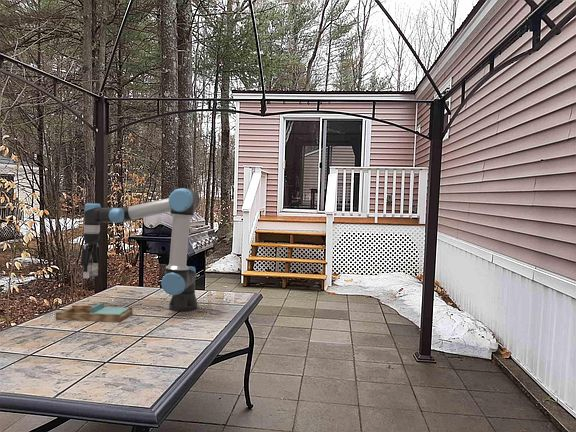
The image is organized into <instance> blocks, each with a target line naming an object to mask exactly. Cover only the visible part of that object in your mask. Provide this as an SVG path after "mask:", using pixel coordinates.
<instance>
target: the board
mask: <svg viewBox="0 0 576 432" xmlns="http://www.w3.org/2000/svg"><path fill="white" fill-rule="evenodd" d="M93 306H94V305H78V304H77V305H76V304H75V305H71V307H69V308H67V309H65V310H63V311H60V312H58V311H57V312H55V320H58V321H59V320H60V321H76V322H77V321H79V322H106V323H107V322H108V323H121V322H123V321H124V320H125V319H127V318H128V317H130V316H132V315H133V307H129V308H130V310H128V311H126V312H125V313H123V314H121V315H110V314H90V311H91V307H93ZM116 307H117V308H127V307H125V306H123V307H121V306H116Z"/></svg>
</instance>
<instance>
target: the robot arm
mask: <svg viewBox="0 0 576 432" xmlns="http://www.w3.org/2000/svg"><path fill="white" fill-rule="evenodd" d="M200 200H201V199H200V196H199V194H198V193H197V192H196V191H194V190H193V189H189V188H186V187H185V188H184V187H183V188H182V187H180V188H175V189H174V190H172V192H171V193H170V195H169V196H168V198H164V199H163V198H162V199H158V200H154V201H149V202H143V203H139V204H134V205H129V206H126V207H101V204H100V203H90V202H89V203H85V204H84V210H83V215H84V216H83V219H84V220H83V221H84V222H83V232H84V234H83V241H84V242H85V244H82V248H81V249H82V251H81V258H80V261H81V262H80V265H81V266H83V267H82V273H83V275H82V278H83V279H90V276H89V266H90V265H89V263H90V261H91V258H92V263H96V262H97V263H96V264H97V266H98V267H99V264H100V263H101V243H99V241H100V237H101V235H100V232H101V223H114V224H117V223H119V224H120V223H126V222H129V221H134V220H137V219H142V218H147V217H153V216H156V215H162V214H166V213H170V216H172V228H171V237H170V239H171V241H170V249H169V250H170V251H169V259H168V260H169V261H168V265H166V266H165V271H164V275H163V277H162V279H161V283H160V284H161V289H162V290H163V291H164V292H165V293H166V294H168V295H169V296H171V299H170V301H169V304H168V305H169V306H168V308H169V310H170V311H171V310H172V311H175V312H176V311H177V312H189V311H195V310H197V309H198V306H199V304H198V301H197V298H196V274H197V272H196V271H197V270H196V269H197V268H196V267H195V266H191V265H190V266H188V265H187V261H188V251H189V239H190V238H189V237H190V225H191V219H192V218H193V217H194V216H195V210H196V209H197V208H198V206H199V205H200ZM98 275H99V271H98V272H97V275H96V276H98ZM96 276H95V277H96ZM194 309H195V310H194Z"/></svg>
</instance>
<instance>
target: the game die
mask: <svg viewBox="0 0 576 432" xmlns="http://www.w3.org/2000/svg"><path fill="white" fill-rule="evenodd" d="M96 263H97V262H96ZM96 263H93V262H89V265H90V266H89V277H95V278H97V276H98V275H97V272H98V273H99V271H100V269H101V267H99V265H98V266H97V264H96ZM96 275H97V276H96Z"/></svg>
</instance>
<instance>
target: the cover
mask: <svg viewBox="0 0 576 432" xmlns="http://www.w3.org/2000/svg"><path fill="white" fill-rule="evenodd" d="M92 306H93V307H91V311H90V314H110V315H121V314H123V313H125V312H126V311H128V310H130V308H131V307H126V308H117V307H118V306H105V302H104V301H103V302H102V301H101V302H99V303H97V304H95V305H92Z"/></svg>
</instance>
